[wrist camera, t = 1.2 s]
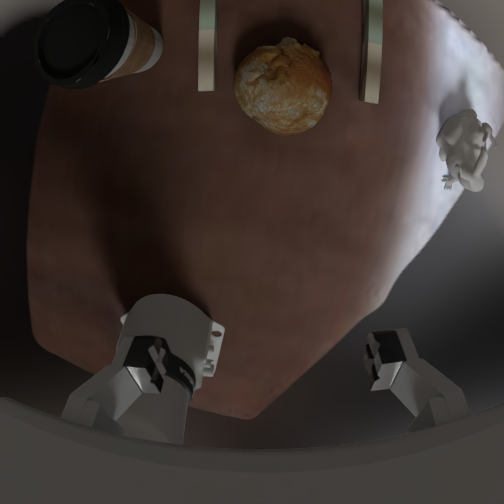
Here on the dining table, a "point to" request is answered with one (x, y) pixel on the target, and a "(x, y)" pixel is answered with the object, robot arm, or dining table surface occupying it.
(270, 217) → the dining table surface
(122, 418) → the robot arm
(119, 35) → the coffee cup
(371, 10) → the channel
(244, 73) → the bread roll
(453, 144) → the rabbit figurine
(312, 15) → the dining table surface
